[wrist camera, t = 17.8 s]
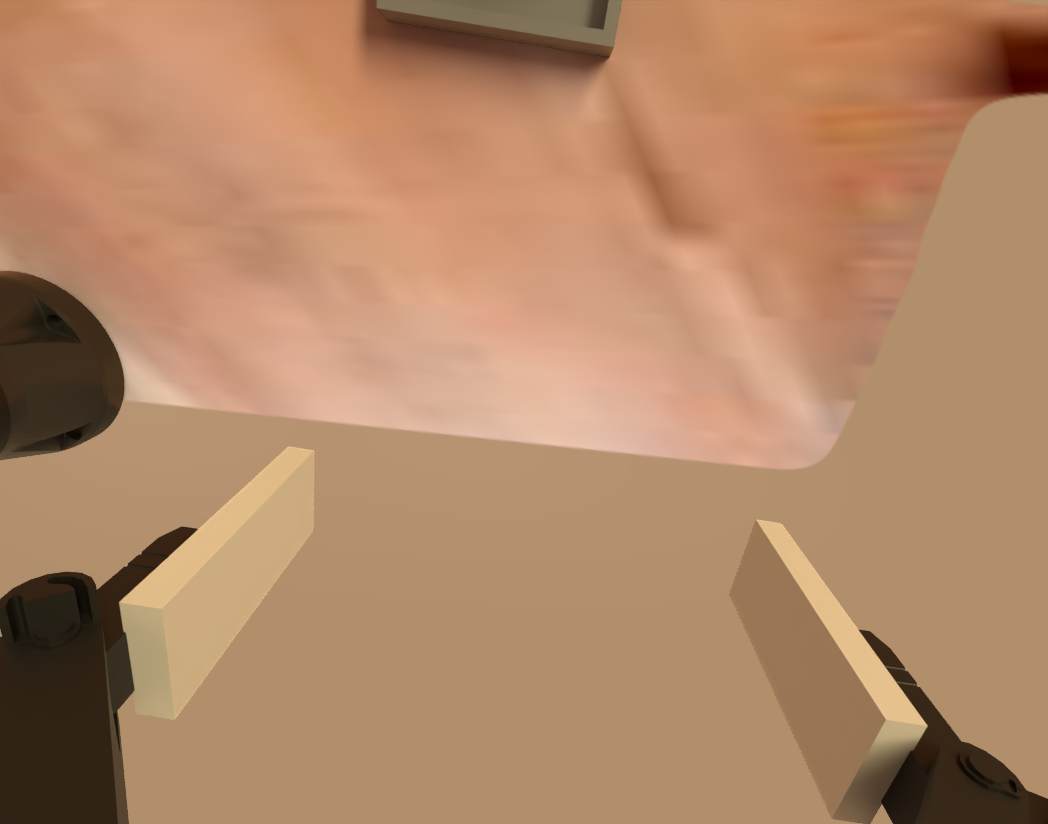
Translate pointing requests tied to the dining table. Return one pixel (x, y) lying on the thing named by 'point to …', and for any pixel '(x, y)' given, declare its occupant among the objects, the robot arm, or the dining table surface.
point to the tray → (518, 20)
